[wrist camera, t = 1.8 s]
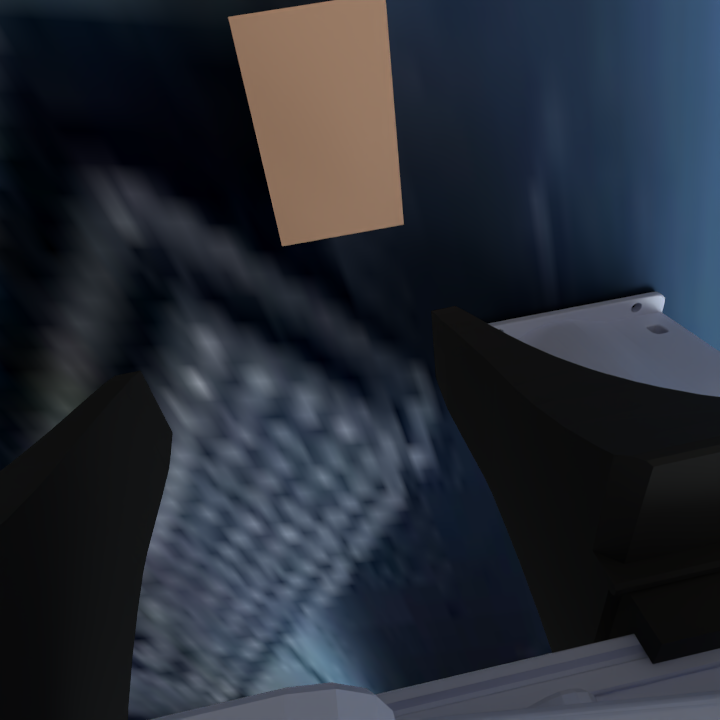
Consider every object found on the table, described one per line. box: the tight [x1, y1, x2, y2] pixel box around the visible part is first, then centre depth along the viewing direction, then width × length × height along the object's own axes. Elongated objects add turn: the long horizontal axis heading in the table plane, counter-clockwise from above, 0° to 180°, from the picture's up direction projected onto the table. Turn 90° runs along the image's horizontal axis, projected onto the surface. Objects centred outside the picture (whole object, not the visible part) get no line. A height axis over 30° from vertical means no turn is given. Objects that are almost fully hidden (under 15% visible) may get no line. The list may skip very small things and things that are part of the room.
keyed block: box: [228, 0, 404, 246], centre depth 15 cm, size 4×6×4 cm, turn 7°
